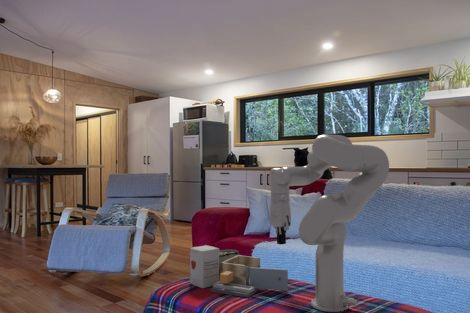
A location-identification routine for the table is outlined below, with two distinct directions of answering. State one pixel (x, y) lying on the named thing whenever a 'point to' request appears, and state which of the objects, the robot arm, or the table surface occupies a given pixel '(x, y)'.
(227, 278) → the fader knob
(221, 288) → the fader board
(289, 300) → the table surface
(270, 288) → the door
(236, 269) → the tan open box
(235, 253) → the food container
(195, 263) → the supplement box
